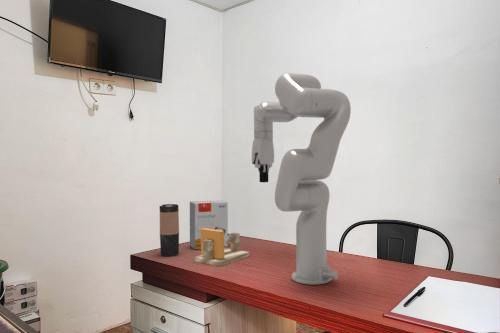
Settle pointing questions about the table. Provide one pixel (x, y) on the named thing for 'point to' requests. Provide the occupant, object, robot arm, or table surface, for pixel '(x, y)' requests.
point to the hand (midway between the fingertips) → (263, 182)
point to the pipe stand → (229, 254)
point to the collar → (218, 241)
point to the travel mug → (169, 230)
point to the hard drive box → (207, 219)
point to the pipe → (228, 238)
